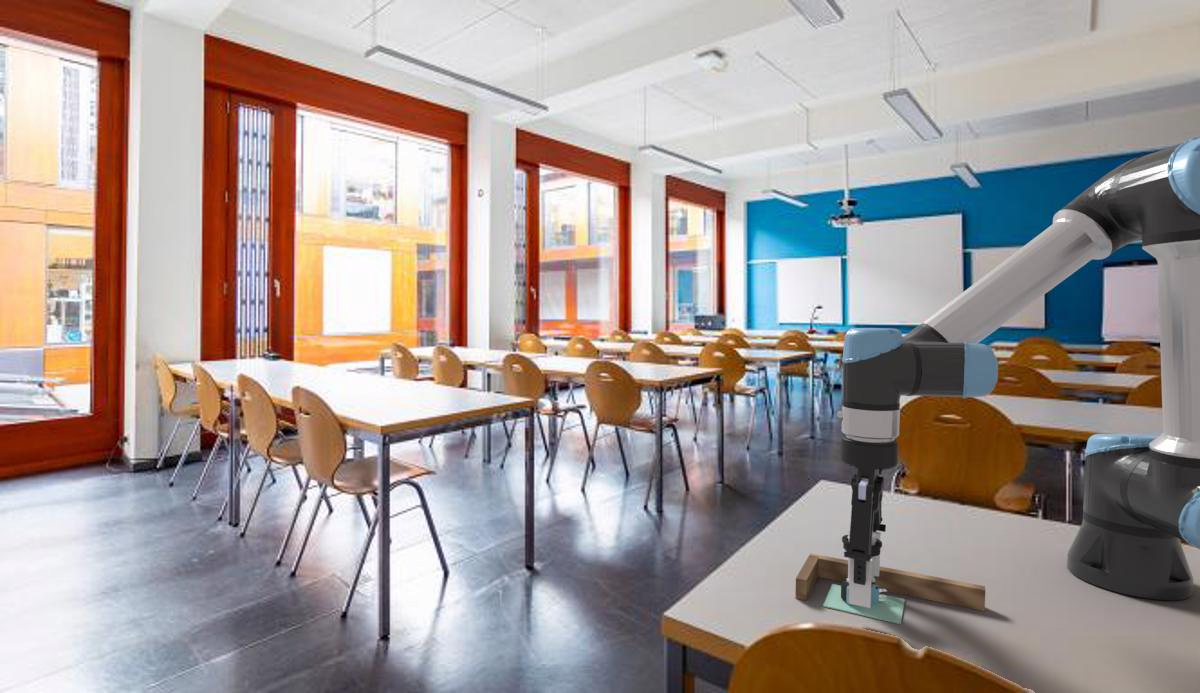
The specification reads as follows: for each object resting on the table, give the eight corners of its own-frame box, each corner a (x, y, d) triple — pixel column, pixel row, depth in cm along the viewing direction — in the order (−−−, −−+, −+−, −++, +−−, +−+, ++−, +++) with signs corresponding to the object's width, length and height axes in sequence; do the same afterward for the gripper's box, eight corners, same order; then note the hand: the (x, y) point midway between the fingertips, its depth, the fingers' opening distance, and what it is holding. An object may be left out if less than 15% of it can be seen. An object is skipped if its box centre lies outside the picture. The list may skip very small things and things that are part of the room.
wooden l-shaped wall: (984, 606, 89) (984, 586, 89) (987, 641, 79) (988, 618, 79) (809, 571, 101) (810, 553, 100) (795, 598, 91) (795, 578, 91)
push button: (875, 592, 93) (877, 526, 92) (897, 608, 88) (899, 539, 87) (833, 594, 92) (835, 528, 91) (852, 611, 87) (854, 541, 86)
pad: (904, 600, 91) (904, 598, 91) (900, 624, 84) (900, 622, 84) (832, 585, 96) (832, 583, 96) (823, 606, 89) (823, 605, 89)
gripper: (852, 421, 100) (848, 555, 101) (827, 449, 80) (822, 616, 81) (904, 426, 96) (899, 565, 98) (891, 456, 76) (885, 631, 78)
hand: (864, 588), depth 89 cm, fingers open, 11 cm apart
